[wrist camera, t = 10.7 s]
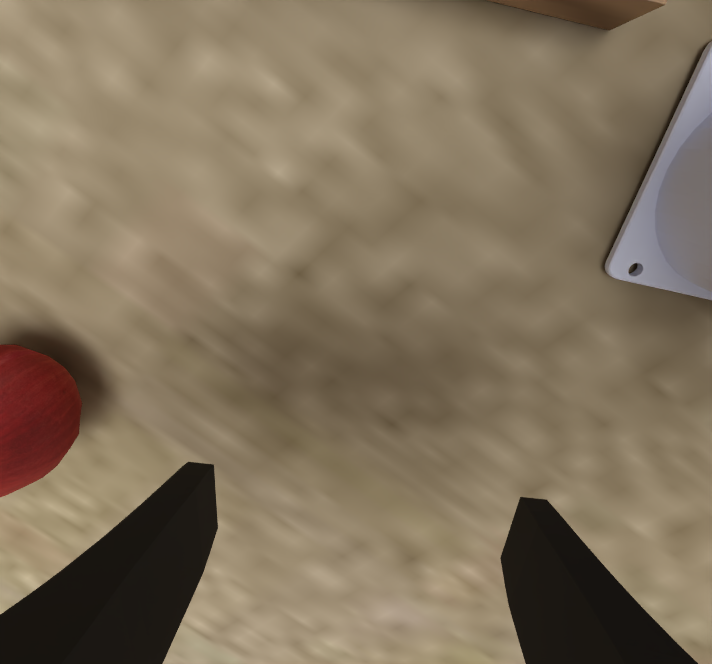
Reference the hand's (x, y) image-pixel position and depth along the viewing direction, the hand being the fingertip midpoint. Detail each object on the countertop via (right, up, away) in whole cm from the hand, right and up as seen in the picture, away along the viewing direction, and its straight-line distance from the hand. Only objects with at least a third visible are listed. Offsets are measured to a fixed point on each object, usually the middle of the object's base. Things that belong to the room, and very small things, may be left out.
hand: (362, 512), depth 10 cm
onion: (-14, +2, +10) cm, 18 cm away
